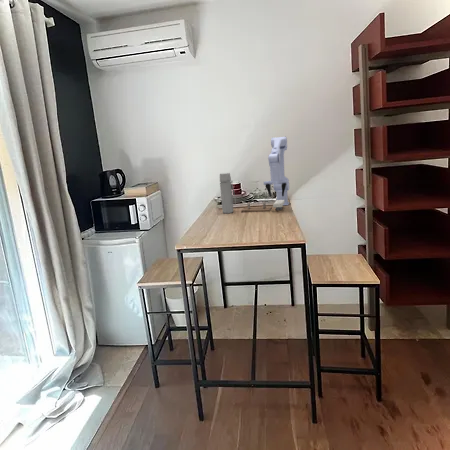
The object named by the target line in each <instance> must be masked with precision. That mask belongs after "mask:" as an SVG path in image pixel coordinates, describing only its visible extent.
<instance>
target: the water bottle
mask: <svg viewBox="0 0 450 450" xmlns="http://www.w3.org/2000/svg"><path fill="white" fill-rule="evenodd" d="M233 183H234V182H233V180H232V179H231V172H222V173H219V185H220V186H219V187H220V197H221V208H222V209H221V210H222V213H223V214H233V212H234V205H236V203H237V201H236V199H234V198H236V197H235V194H234V193H235V190H234V186H233Z"/></svg>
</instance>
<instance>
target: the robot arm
mask: <svg viewBox="0 0 450 450" xmlns="http://www.w3.org/2000/svg"><path fill="white" fill-rule="evenodd" d="M270 145H271V151H270V153H269V154H268V158H267V159H268V164H269V166H268V167H269V174H270V180H269V181H268V180H267V181H263V185H264V186H265V189H266V191H267V192H268V195H269V197H270V198H271V197H272V192H271V189H272V188H271V187H272V185H273V191H274V192H275V194H276V200H284V204H283V206H289V204H290V201H288V200H289V199H288V197H289V196H288V191H289V190H290V180H289V178H288V177H287V176H285V152H286V151H287V149H288V138H287V136H279V137H278V136H277V137H271V138H270Z"/></svg>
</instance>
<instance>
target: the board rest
mask: <svg viewBox="0 0 450 450" xmlns="http://www.w3.org/2000/svg"><path fill="white" fill-rule="evenodd" d="M275 210H276V211H281V210H283V206H282V207H275Z"/></svg>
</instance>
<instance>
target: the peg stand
mask: <svg viewBox="0 0 450 450" xmlns="http://www.w3.org/2000/svg"><path fill="white" fill-rule="evenodd" d="M266 205H267V204H266V201H263V202H262V206H254V207H252V206H251V201H248V202H247V205H246V206H247V207H246V206H245V207H243V209H241V210H240V212H241V213H265V212H270V213H271V211H272V210H273V206H266Z"/></svg>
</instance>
